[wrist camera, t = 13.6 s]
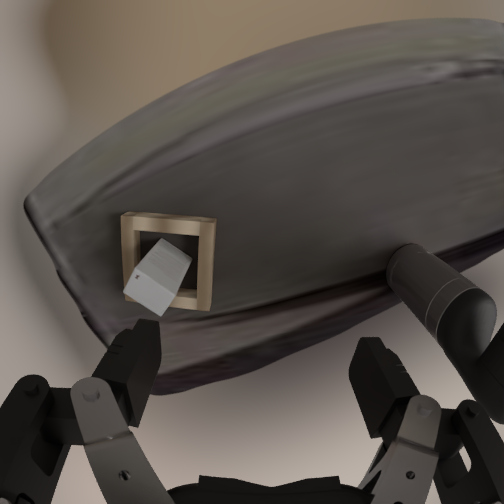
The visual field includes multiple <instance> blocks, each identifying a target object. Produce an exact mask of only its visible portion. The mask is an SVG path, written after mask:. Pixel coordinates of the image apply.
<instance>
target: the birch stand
mask: <svg viewBox="0 0 504 504" xmlns="http://www.w3.org/2000/svg"><path fill="white" fill-rule="evenodd" d="M216 222H217V218H208V217H197V216H185V215H172V214H159V213H146V212H131V211H128V212H126V213H125V214H123V215H121V244H122V263H123V278H124V288H125V286H126V284H127V282H128V280H129V278H130V276H131V274H132V272H133V270H134V268H135V267H136V266H137V265H138V264H139V263H140V261H141V255H140V231H152V232H163V233H174V234H185V235H196V236H199V251H198V277H197V290H195V289H187V288H179V289H178V292H177V294H176V296H175V298H174V299H173V301H172V302H171V303H170V305H169V306H168V307H176V308H184V309H193V310H201V311H210V306H211V302H212V284H213V266H214V250H215V236H216ZM125 300H127V301H133V302H137V301H135V300H134V299H132V298H131V297H129V296H128V295H126V294H125Z"/></svg>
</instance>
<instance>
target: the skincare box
mask: <svg viewBox="0 0 504 504" xmlns="http://www.w3.org/2000/svg"><path fill="white" fill-rule="evenodd" d="M191 261H192V258H191V257H190V256H188V255H187V254H185V253H184V252H182V251H181V250H179V249H178V248H176V247H175V246H173V245H172V244H170V243H169V242H167V241H166V240H164V239H163V238H161V239H160V240H159V241H158V242H157V243H156V244H155V245H154V247H153V248H152V249H151V250H150V251H149V252H148V253H147V254H146V256H145V257H144V258H143V259H142V260H141V261H140V263H139V264H138V265H137V266H136V267H135V268H134V270H133V272H132V274H131V276H130V278H129V280H128V282H127V284H126V286H125V288H124V290H123V293H125V294H126V295H128V296H129V297H131V298H132V299H134V300H135V301H137V302H139V303H140V304H142V305H143V306H145V307H146V308H148V309H150V310H151V311H153V312H154V313H156V314H157V315H159V316H162V315H163V313H164V312H165V311H166V309H167V308H168V306H169V305H170V303H171V302H172V301H173V299H174V298H175V296H176V294H177V292H178V289H179V287H180V285H181V283H182V280H183V278H184V276H185V274H186V272H187V270H188V268H189V266H190V263H191Z"/></svg>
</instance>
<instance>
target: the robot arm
mask: <svg viewBox="0 0 504 504" xmlns="http://www.w3.org/2000/svg"><path fill="white" fill-rule="evenodd" d="M386 279H387V283H388V285H389V286H390V288H391V289H392V290H393V291H394V292H395V293H396V294H397V296H398V297H399V298H400V299H401V300H402V301H403V303H404V304H405V305H406V306H407V307H408V308H409V309H410V311H411V312H412V313H413V314H414V315H415V316H416V318H417V319H418V320H419V321H420V322H421V323H422V325H423V326H424V327H425V328H426V329H427V331H428V332H429V333H430V334H431V335H432V337H433V338H434V339H435V340H436V341H437V343H438V344H439V345H440V346H441V347H442V349H443V350H444V352H445V354H446V356H447V357H448V359H449V360H450V361H451V363H452V364H453V365H454V367H455V368H456V370H457V371H458V373H459V374H460V376H461V377H462V379H463V381H464V382H465V384H466V386H467V387H468V389H469V391H470V392H471V394H472V396H473V397H474V399H475V400H476V401H473V400H463V401H462V402H461V403H460V404H459V406H458V407H457V408H456V409H444V408H441V407H440V405H439V404H438V402H437V401H436V400H434V399H433V398H431V397H429V396H426V395H421V394H420V392H419V391H418V389H417V387H416V386H415V384H414V382H413V380H412V379H411V377H410V375H409V374H408V373H407V371H406V369H405V367H404V366H403V364H402V362H401V361H400V359H399V357H398V356H397V355H396V354H395V353H393V352H392V351H391V350H390V349H386V347H385V346H384V344H383V342H382V341H381V339H380V338H379V337H362V338H360V340H359V342H358V345H357V347H356V350H355V353H354V356H353V358H352V361H351V364H350V367H349V380H350V382H351V385H352V388H353V390H354V393H355V396H356V399H357V401H358V404H359V407H360V409H361V412H362V415H363V418H364V421H365V423H366V426H367V429H368V432H369V435H370V437H371V439H372V438H378V437H382V439H383V442H382V443H381V445H380V447H379V448H378V451H377V453H376V455H375V457H374V459H373V461H372V463H371V465H370V467H369V469H368V471H367V473H366V475H365V477H364V478H363V480H362V481H361V483H360V484H359V486H358V487H353V486H350V485H345V484H340V480H339V476H332V477H323V478H309V479H304V480H300V481H296V482H293V483H288V484H284V485H280V486H276V487H268V486H263V485H259V484H254V483H250V482H246V481H242V480H238V479H234V478H221V477H211V476H202V475H199V483H193V484H187V485H182V486H178V487H175V488H172V489H170V490H167V491H166V489H165V488H164V486H163V485H162V483H161V482H160V480H159V478H158V477H157V475H156V473H155V472H154V470H153V468H152V467H151V465H150V463H149V462H148V460H147V458H146V457H145V455H144V453H143V451H142V449H141V447H140V446H139V444H138V442H137V440H136V438H135V436H134V434H133V433H132V432H130V430H129V428H128V426H133V427H137V428H138V427H139V424H140V420H141V418H142V415H143V412H144V409H145V406H146V403H147V400H148V397H149V395H150V392H151V389H152V386H153V384H154V381H155V378H156V375H157V373H158V370H159V367H160V363H161V355H162V353H161V340H160V327H159V322H158V321H153V320H147V319H139V320H138V321H137V323H136V325H135V326H134V328H133V330H130V329H125V330H123V331H122V332H120V333H119V334H118V335H116V337H115V338H114V340H113V342H112V343H111V345H110V346H109V348H108V350H107V352H106V353H105V354H104V356H103V358H102V359H101V361H100V363H99V364H98V366H97V368H96V370H95V371H94V373H93V374H92V376H91V377H88V378H84V379H81V380H79V381H77V382H76V383H75V384H74V385H73V386H72V388H53V387H50V386H49V384H48V382H47V380H46V379H45V378H44V377H42V376H39V375H27V376H25V377H22V378H21V379H20V380H19V381H18V382H17V383H16V384H15V386H14V387H13V389H12V390H11V392H10V393H9V395H8V396H7V398H6V399H5V401H4V402H3V404H2V406H1V408H0V504H51V501H52V498H53V495H54V492H55V489H56V486H57V483H58V480H59V477H60V474H61V471H62V468H63V465H64V463H65V460H66V458H67V455H68V452H69V450H70V447H71V445H83V446H84V449H85V452H86V455H87V458H88V460H89V463H90V466H91V468H92V471H93V473H94V476H95V478H96V480H97V482H98V485H99V487H100V489H101V491H102V494H103V496H104V498H105V500H106V502H107V504H425V501H426V499H427V495H428V493H429V489H430V486H431V483H432V479H433V480H434V483H435V486H436V488H437V492H438V494H439V498H440V501H441V504H504V442H503V440H502V439H501V437H500V435H499V433H498V432H497V430H496V428H495V426H494V425H493V423H492V421H491V420H490V418H491V419H492V420H494V421H495V422H497V423H499V424H504V323H503V325H502V326H501V328H500V329H499V331H498V333H496V335H495V336H494V338H493V339H492V341H491V342H490V340H491V336H492V333H493V330H494V326H495V323H496V316H497V310H496V305H495V302H494V300H493V299H492V298H491V297H490V296H489V295H488V294H487V293H485V292H484V291H483V290H482V289H480V288H479V287H478V286H476V285H475V284H473V283H472V282H471V281H470V280H468V279H467V278H465V277H464V276H463V275H461V274H460V273H459V272H457V271H456V270H455V269H453V268H452V267H450V266H449V265H448V264H446V263H445V262H443V261H442V260H440V259H439V258H438V257H436V256H435V255H433V254H432V253H430V252H429V251H428V250H426V249H425V248H423V247H422V246H419V245H416V244H409V245H406V246H403V247H402V248H400V249H399V250H398V251H396V252H395V253H394V255H393V256H392V257H391V259H390V261H389V263H388V266H387V270H386ZM489 417H490V418H489ZM463 446H464V447H465V449H466V451H467V453H468V455H469V457H470V460H471V469H470V471H469V472H468V471H467V469H466V467H465V464H464V462H463V460H462V457H461V455H460V453H459V450H460V449H461V448H462V447H463Z"/></svg>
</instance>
